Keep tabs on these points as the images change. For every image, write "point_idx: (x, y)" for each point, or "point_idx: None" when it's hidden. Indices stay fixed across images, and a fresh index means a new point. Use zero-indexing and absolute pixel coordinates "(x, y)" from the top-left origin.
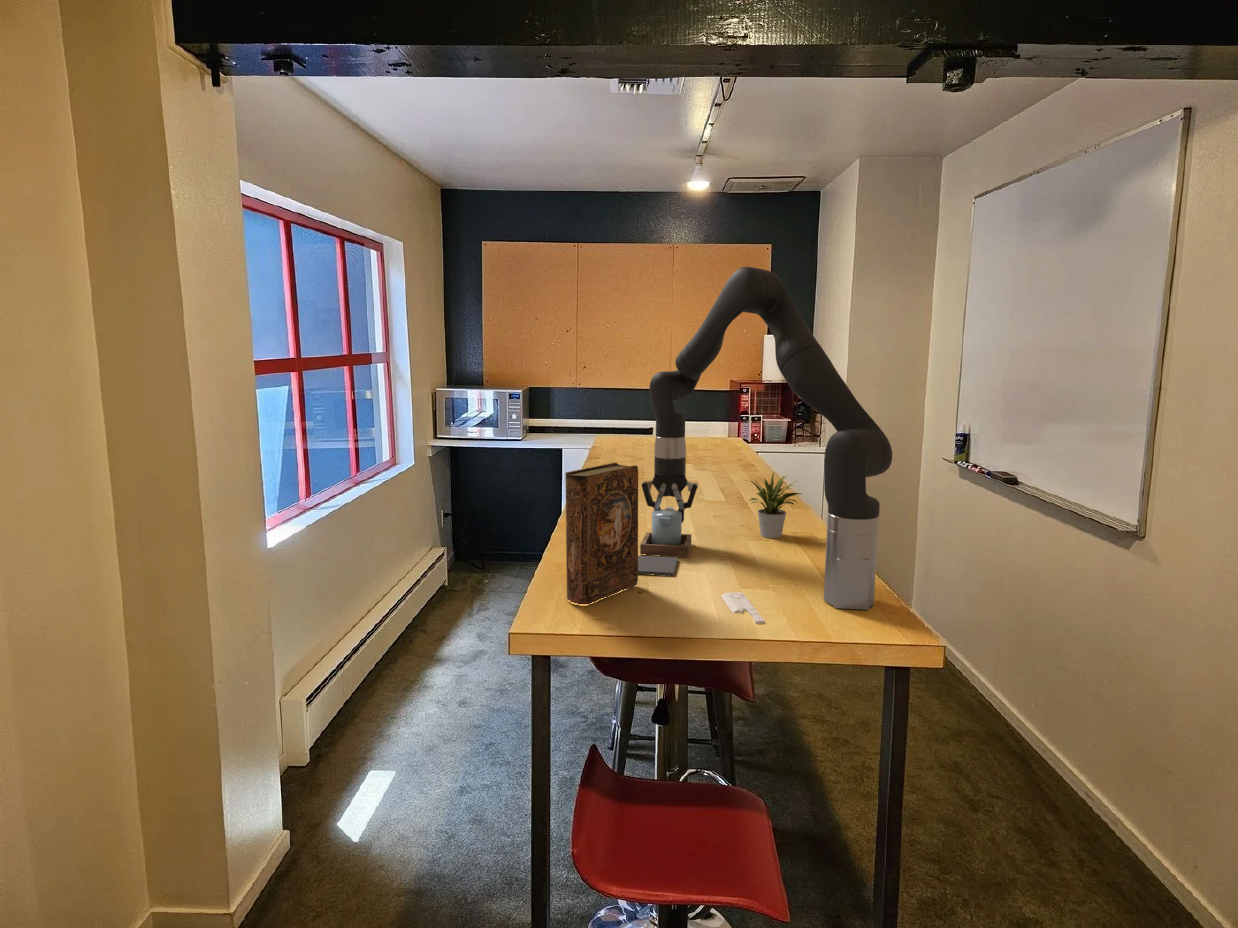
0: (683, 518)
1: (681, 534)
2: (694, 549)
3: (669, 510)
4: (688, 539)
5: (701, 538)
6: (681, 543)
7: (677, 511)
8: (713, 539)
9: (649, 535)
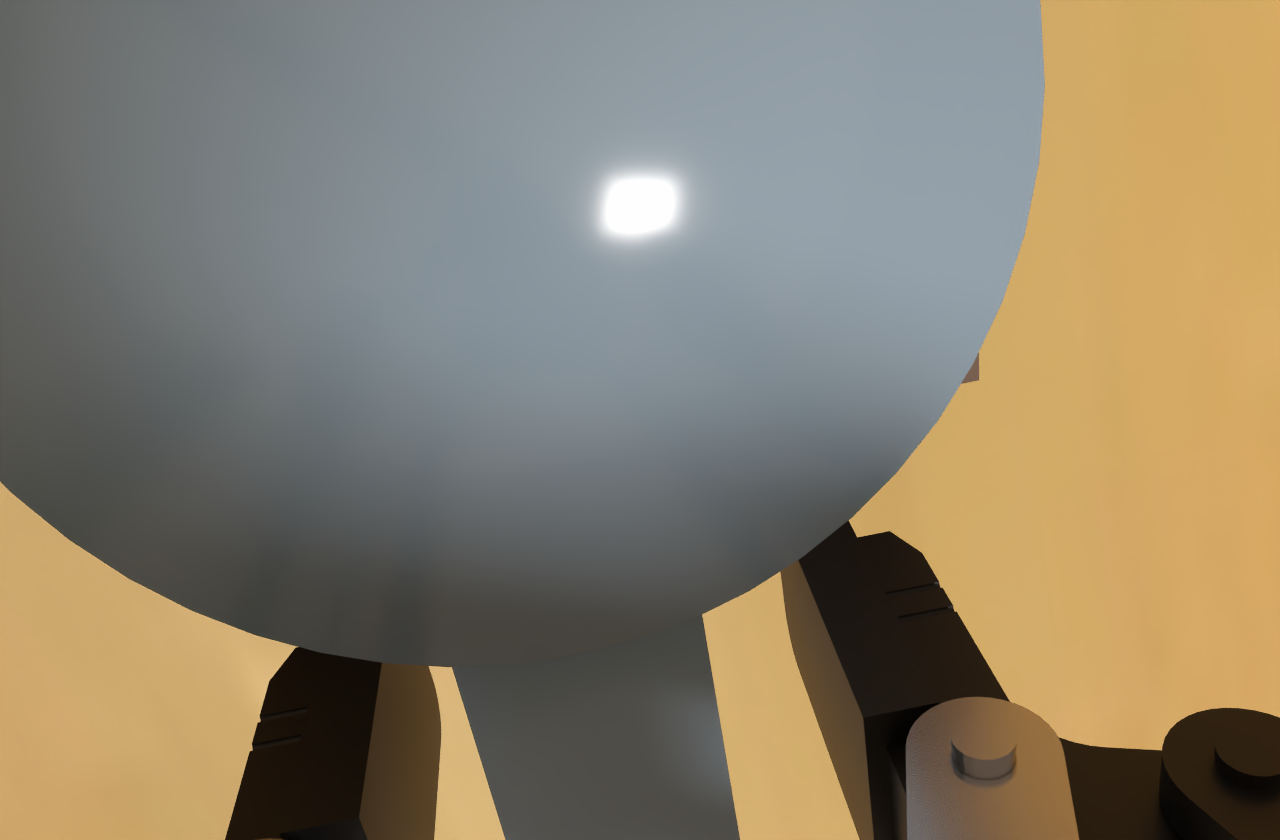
0: (261, 718)
1: None
2: None
3: (497, 560)
4: None
5: (204, 757)
6: None
7: (180, 532)
8: (25, 773)
9: None
